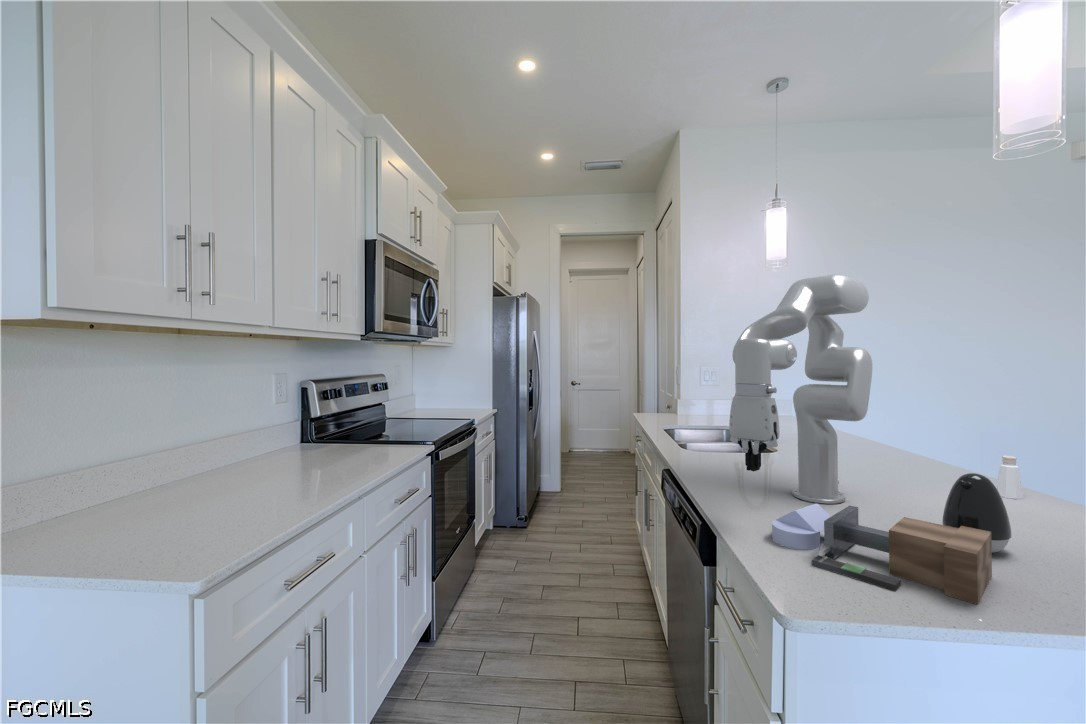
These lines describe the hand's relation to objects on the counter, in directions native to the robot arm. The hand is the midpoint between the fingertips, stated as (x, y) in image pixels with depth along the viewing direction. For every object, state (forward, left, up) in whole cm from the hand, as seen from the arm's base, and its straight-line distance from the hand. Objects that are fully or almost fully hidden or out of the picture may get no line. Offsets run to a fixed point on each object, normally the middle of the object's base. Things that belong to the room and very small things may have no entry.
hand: (753, 469), depth 107 cm
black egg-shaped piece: (-22, +35, -14) cm, 43 cm away
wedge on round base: (-1, +10, -14) cm, 17 cm away
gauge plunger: (+1, +22, -13) cm, 26 cm away
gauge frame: (+2, +28, -13) cm, 31 cm away
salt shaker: (-73, +35, -14) cm, 82 cm away
